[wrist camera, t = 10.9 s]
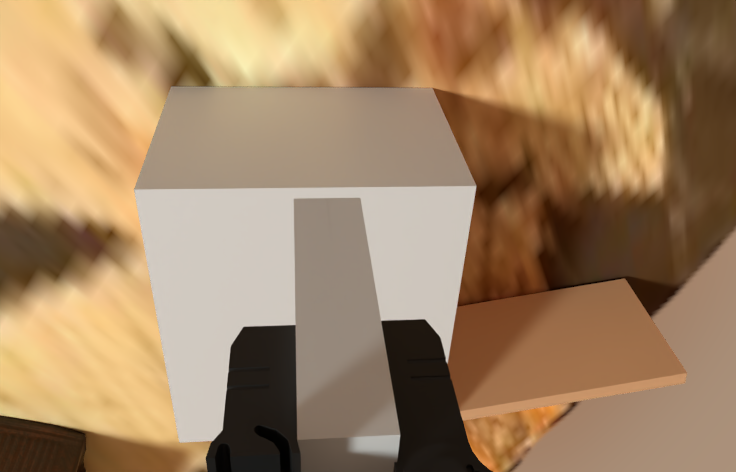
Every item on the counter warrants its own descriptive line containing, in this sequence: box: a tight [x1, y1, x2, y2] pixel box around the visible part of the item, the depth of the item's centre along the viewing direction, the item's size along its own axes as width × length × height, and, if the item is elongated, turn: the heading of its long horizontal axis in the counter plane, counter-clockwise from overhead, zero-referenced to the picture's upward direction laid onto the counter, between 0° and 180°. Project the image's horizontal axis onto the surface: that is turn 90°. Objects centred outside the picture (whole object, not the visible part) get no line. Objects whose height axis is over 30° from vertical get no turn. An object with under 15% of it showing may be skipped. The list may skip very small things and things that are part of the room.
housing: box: [134, 86, 476, 443], centre depth 42 cm, size 20×16×12 cm
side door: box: [448, 279, 687, 420], centre depth 49 cm, size 17×2×10 cm, turn 98°
